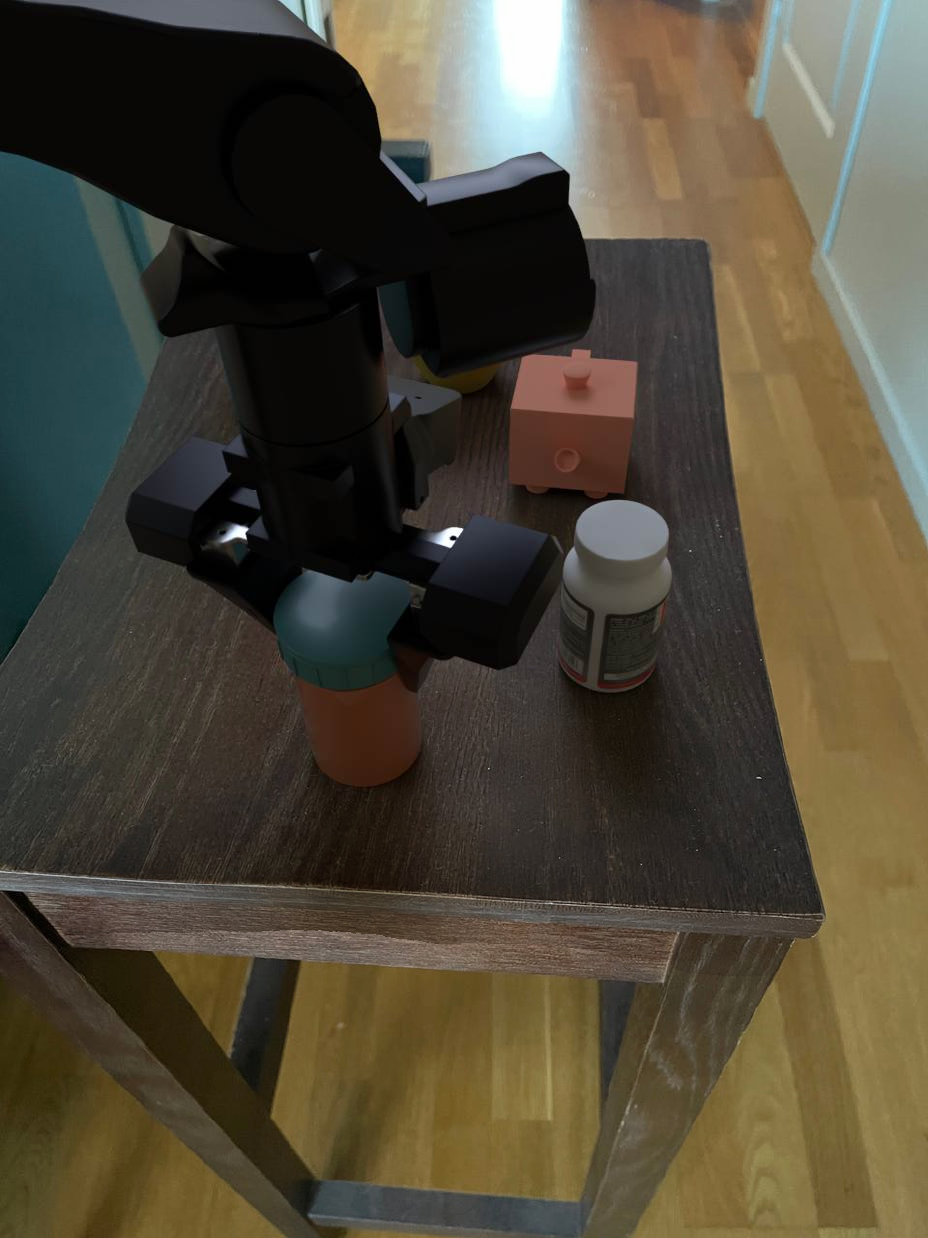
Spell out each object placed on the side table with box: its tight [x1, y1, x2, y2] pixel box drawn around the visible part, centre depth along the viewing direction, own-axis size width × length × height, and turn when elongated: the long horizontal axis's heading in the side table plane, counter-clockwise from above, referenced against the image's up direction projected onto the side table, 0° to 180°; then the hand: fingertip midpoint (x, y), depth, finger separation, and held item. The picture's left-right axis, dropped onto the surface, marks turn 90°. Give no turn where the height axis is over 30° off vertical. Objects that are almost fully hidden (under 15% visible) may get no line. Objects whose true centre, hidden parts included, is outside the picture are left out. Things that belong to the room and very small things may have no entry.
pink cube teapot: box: [508, 348, 639, 499], centre depth 62 cm, size 8×12×8 cm, turn 171°
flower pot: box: [411, 356, 504, 395], centre depth 71 cm, size 10×10×7 cm
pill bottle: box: [557, 499, 673, 693], centre depth 49 cm, size 6×6×10 cm
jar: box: [291, 670, 424, 788], centre depth 46 cm, size 6×6×10 cm
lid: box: [273, 570, 413, 690], centre depth 43 cm, size 7×7×2 cm
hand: (361, 665), depth 46 cm, fingers closed on lid, 6 cm apart
